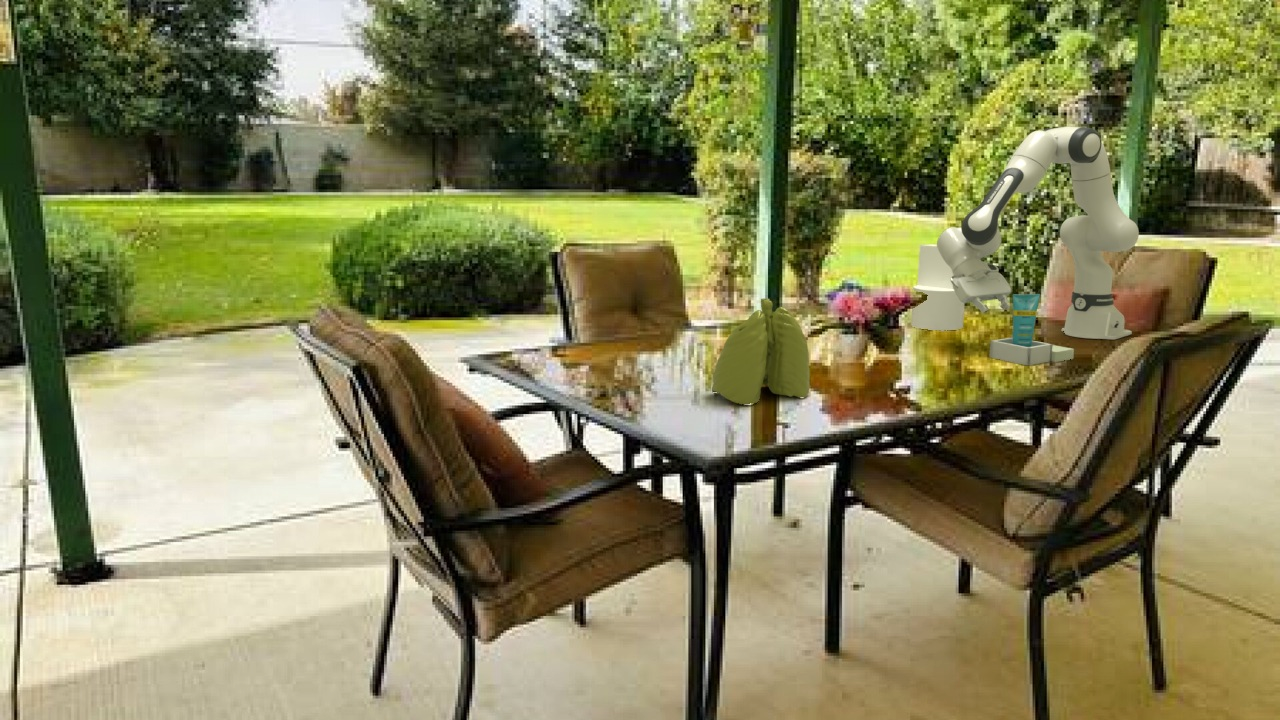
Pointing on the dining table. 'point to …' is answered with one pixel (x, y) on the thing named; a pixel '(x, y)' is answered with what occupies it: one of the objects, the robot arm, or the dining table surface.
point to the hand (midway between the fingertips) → (996, 310)
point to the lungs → (763, 357)
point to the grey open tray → (1029, 352)
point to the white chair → (936, 294)
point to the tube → (1024, 318)
